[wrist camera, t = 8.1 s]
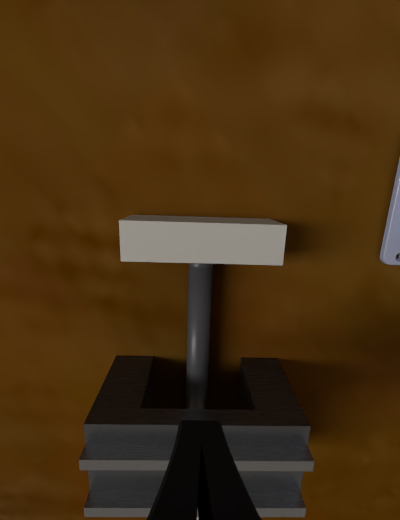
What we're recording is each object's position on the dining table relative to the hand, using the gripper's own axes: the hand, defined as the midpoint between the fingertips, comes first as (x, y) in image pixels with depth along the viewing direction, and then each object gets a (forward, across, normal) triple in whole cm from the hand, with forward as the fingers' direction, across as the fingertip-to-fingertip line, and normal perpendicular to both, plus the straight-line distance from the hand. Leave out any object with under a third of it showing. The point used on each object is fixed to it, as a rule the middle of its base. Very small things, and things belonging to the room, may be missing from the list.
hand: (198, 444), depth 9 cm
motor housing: (+9, 0, +6) cm, 11 cm away
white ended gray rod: (+9, 0, +5) cm, 10 cm away
